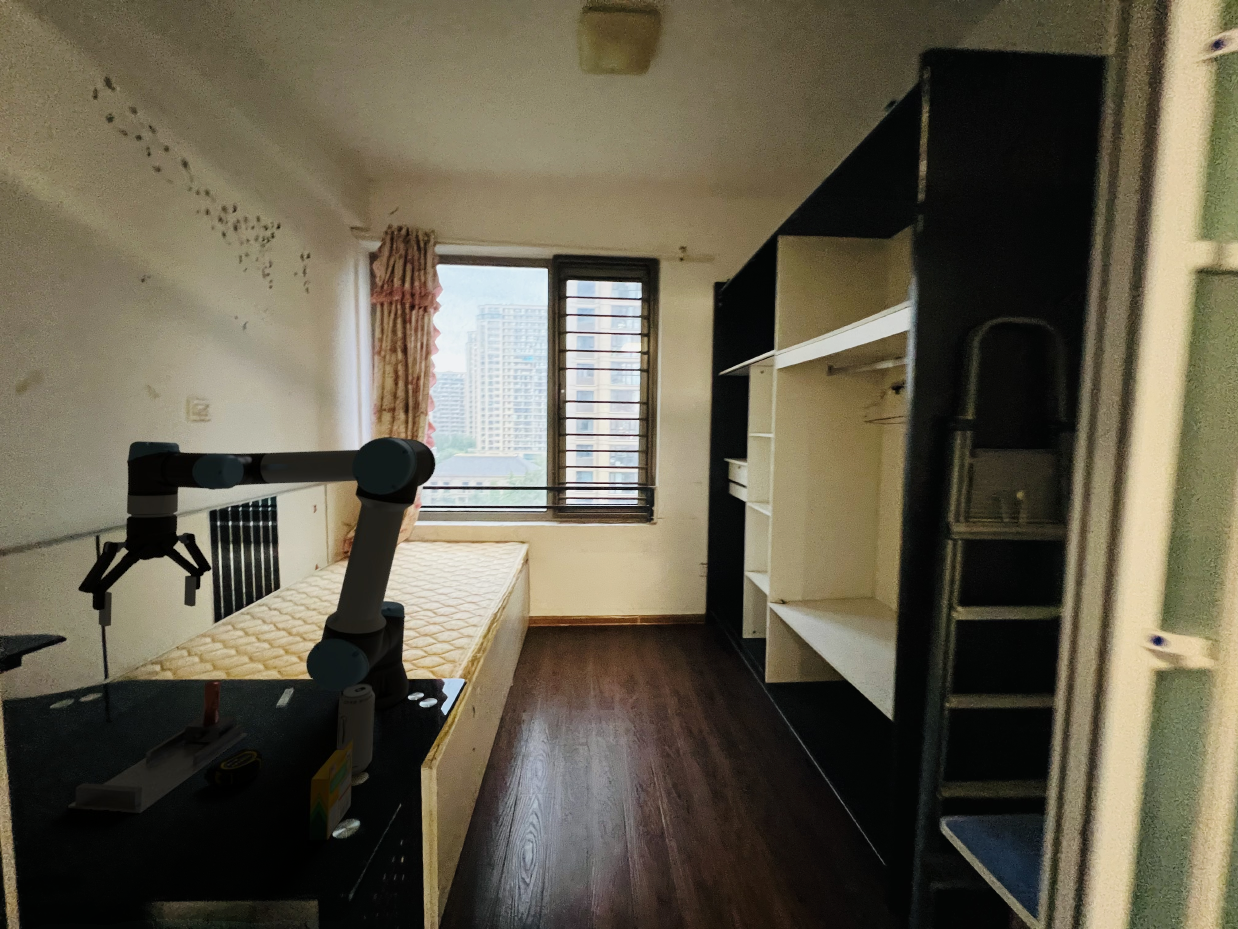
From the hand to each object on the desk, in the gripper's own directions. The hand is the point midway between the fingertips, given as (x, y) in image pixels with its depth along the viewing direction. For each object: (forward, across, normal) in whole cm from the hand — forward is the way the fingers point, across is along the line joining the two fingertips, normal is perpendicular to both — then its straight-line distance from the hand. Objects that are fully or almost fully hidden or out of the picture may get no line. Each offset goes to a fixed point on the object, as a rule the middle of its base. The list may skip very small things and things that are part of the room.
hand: (150, 614), depth 97 cm
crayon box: (+25, +1, +58) cm, 63 cm away
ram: (+23, -2, +17) cm, 29 cm away
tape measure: (+24, +2, +33) cm, 41 cm away
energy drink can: (+24, -10, +49) cm, 56 cm away
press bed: (+24, +5, +20) cm, 31 cm away
